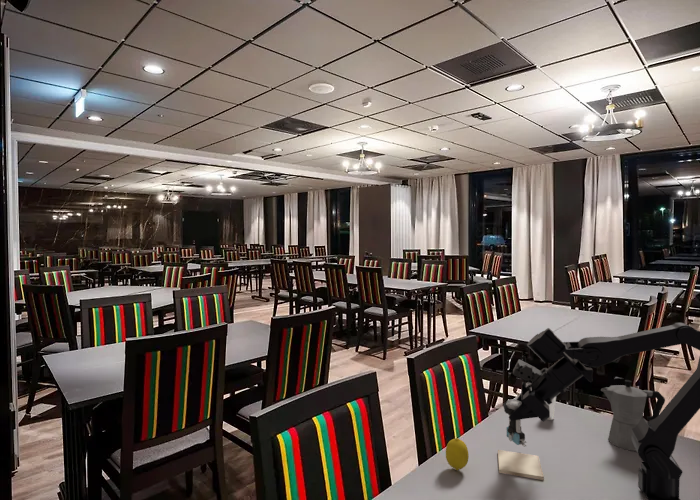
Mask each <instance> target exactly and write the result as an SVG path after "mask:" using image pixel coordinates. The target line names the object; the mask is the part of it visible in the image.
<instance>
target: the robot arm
mask: <svg viewBox="0 0 700 500" xmlns="http://www.w3.org/2000/svg"><path fill="white" fill-rule="evenodd" d="M678 345H688V346H690V347H692V348H693V349H696V350H697V351H700V330H698V329H695V328H694V327H692V326H690V325H688V324H686V323H685V322H674V323H672V324H670V325H666V326H661V327H657V328H653V329H647V330H642V331H639V332H632V333H628V334H625V335H619V336H589V337H587V336H586V337H583V338H580V340H578V341H564V342H563V341H562V340H561V339H560V338H559V337H558V336H557V335H556V334H555V332H554V331H553V330H552V329H551V328H549V327H547V328H546V329H545V330H543V331H541V332H539V333H537V334H535V335H534V336H533V337H532V338H531V339H530V340H529V341H528V342H527V343H526V346H527V347H528V348H529V349H530V350H531V351H532V352H533V353H534V354H535V355H536V356H537V357H538V358H539V359H540V360H541V361H542V362H543V363H544V364H546V363H548V364H552V365H551V366H549V367H548V368H547V367H543V368H542V369H538V368H537V367H535V366H534V365H531V364H529V363H528V362H525V361H524V360H522V359H518V360H517V362H516V364H515V366H514V367H513V369H512V375H514V376H515V377H516V378H520V379H522V380H523V381H522V383H521V392H520V394H519V395H518V396H517V398H516V399H515V400H519V401H521V403H520V404H519V405H518V407H517V408H516V409H515V410H514V411H513V412H512V413H511V415H510V416H509V415H508V420H509V419H510V420H511V421H514V420H525V419H532V418H533V419H534V418H538V419H540V421H542V422H545V421H547V419H548V418H549V417H550V410H549V405H550V404H551V403H552V399H553V398H554V397H556V398H557V396H558V395H559V394H561V395H564V394H566V389H568V387H570V386H571V385H573V384H574V383H575V382H577V381H578V380H580V379H581V378H582V377H584V378H585V379H586V380H587V382H590V383H592V382H594V380H593V373H594V370H593V368H600V367H602V366H605V365H607V364H611V363H612V362H615V361H617V360H618V359H620V358H622V357H624V356H628V355H632V354H639V353H643V352H649V351H654V350H658V349H663V348H668V347H673V346H678ZM698 358H699V359H698V362H697V367H696V368H695V370H694V372H693V373H692V374H691V375H690V376H689V378H688V379H687V380H686V381H685V382H684V384H683V385H682V386H681V388H680V389H679V390H678V391H677V392H676V393H675V395H674V396H673V397H672V398H671V400H670V401H669V402H668V403H667V404H666V406H665V407H664V408H663V409H662V410H661V411H660V413H659V415H658V417H656V418H655V419H653V420H648V419H647V420H646V419H645V417H642V418H641V419H640V421H639V423H638V425H637V426H636V427H635V428H632V429H631V430H632V432H633V434H632V436H631V439H632V443H633V445H634V447H635V449H636V451H635V452H636V453H637V454H638V457H639V458H640V460H642V461H641V462H640V466H641V467H639V468H638V481H637V485H638V487H639V488H640V489H639V490H641V492H642V493H643V494H644V496H645V498H646V499H647V500H681V499H680V479H681V476H682V474H683V470H682V468H681V467H680V465H679V464H678V462H677V460H676V459H675V458H674V456H673V453H674V451H675V448H676V445H677V441H678V436H679V433H681V432H682V430H683V429H684V428H685V427H686V426H687V425H688V424H689V422H690V421H691V420H692V419H693V417H694V416H695V415H696V414H697V413H698V412H699V410H700V356H699V357H698ZM553 363H554V364H553ZM585 365H586V366H585Z"/></svg>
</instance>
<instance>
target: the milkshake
mask: <svg viewBox="0 0 700 500" xmlns="http://www.w3.org/2000/svg"><path fill="white" fill-rule="evenodd" d="M556 401H557V396H556V397H554V398H553V399H552V403H551V404H550V405H549V410H550V417H549V418H548V419H546V421H547V420H548V421H553V420H554V418H555V408H556Z"/></svg>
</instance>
